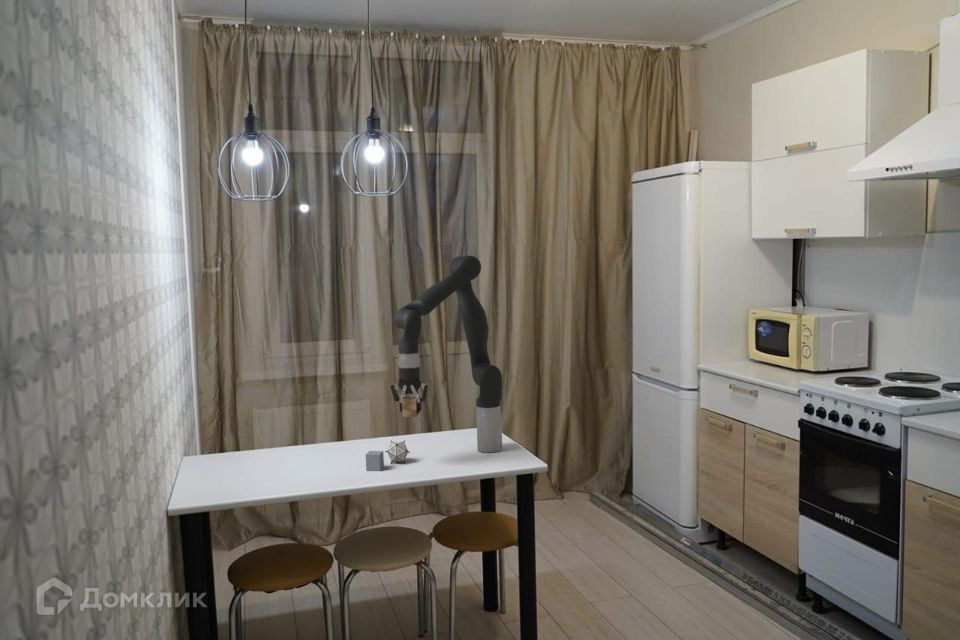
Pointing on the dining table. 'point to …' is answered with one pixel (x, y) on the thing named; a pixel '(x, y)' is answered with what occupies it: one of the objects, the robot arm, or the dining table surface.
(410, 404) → the walnut block
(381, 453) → the slate block
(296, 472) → the dining table surface
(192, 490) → the dining table surface
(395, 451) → the game die
